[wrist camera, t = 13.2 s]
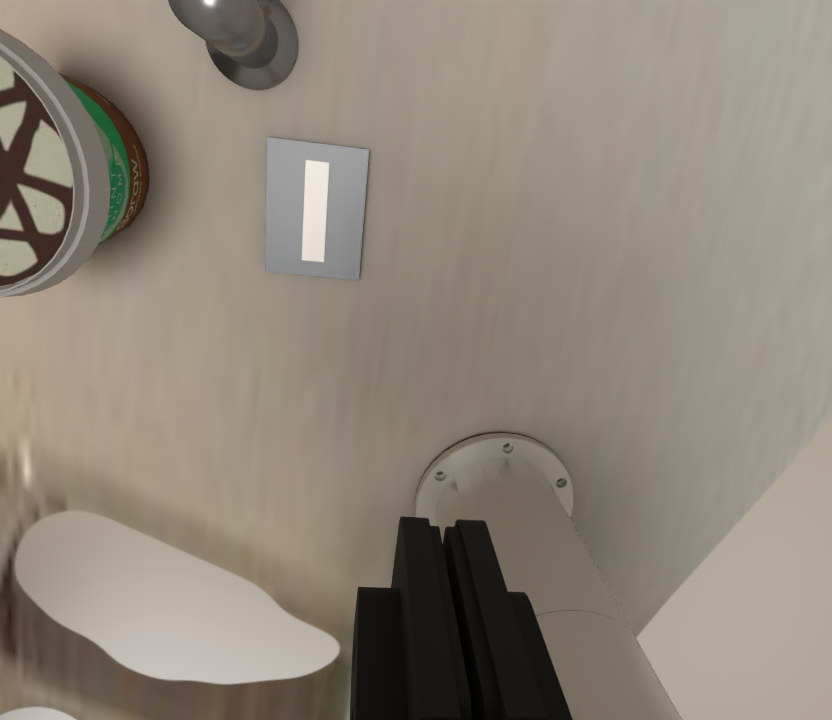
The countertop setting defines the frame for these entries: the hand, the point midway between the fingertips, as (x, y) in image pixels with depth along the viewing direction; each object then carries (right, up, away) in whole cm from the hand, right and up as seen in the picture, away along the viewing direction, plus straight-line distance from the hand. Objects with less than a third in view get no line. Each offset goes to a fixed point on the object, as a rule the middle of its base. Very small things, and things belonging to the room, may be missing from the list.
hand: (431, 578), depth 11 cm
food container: (-18, +16, +22) cm, 33 cm away
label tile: (-7, +14, +23) cm, 28 cm away
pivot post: (-10, +22, +20) cm, 31 cm away
